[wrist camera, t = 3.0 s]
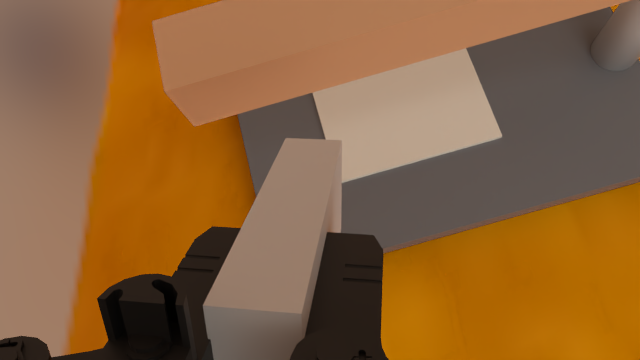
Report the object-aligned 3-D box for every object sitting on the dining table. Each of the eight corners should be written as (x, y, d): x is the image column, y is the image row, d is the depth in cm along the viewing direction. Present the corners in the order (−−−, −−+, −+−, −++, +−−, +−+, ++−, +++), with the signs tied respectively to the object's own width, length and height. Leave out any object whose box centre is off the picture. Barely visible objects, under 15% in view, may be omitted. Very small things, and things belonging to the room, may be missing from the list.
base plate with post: (572, -35, 31) (645, -176, 23) (681, 170, 27) (823, 90, 18) (230, 65, 32) (175, -36, 23) (280, 282, 27) (235, 255, 19)
